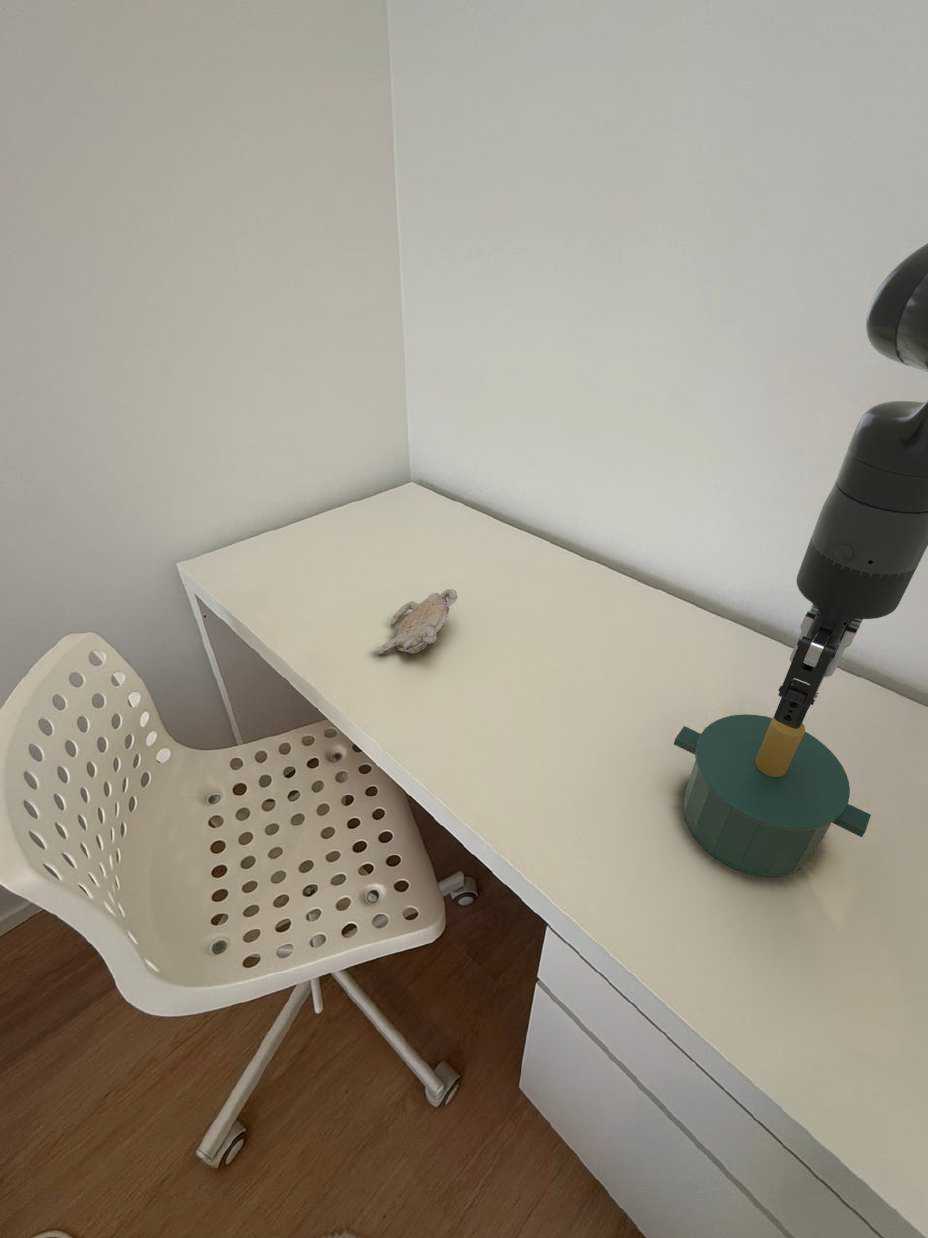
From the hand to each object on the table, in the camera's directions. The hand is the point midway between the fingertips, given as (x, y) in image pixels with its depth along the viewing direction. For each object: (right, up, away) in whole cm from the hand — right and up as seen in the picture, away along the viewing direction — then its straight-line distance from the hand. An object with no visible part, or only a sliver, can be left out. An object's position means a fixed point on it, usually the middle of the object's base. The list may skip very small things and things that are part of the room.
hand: (800, 696), depth 60 cm
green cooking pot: (0, -15, +11) cm, 19 cm away
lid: (0, -8, +6) cm, 10 cm away
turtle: (-38, +4, +37) cm, 53 cm away
